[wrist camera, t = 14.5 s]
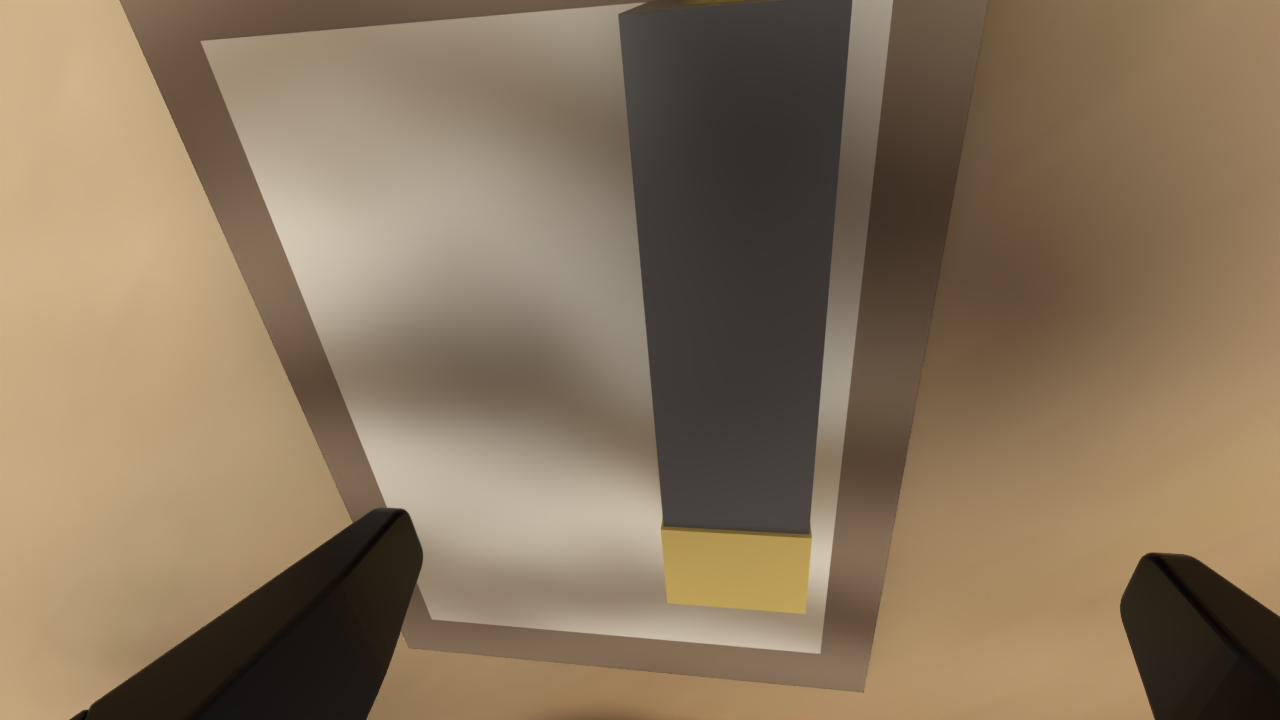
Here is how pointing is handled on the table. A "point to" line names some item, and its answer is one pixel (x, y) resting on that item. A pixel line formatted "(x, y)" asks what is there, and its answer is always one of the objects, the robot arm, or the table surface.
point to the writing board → (550, 303)
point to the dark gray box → (736, 277)
